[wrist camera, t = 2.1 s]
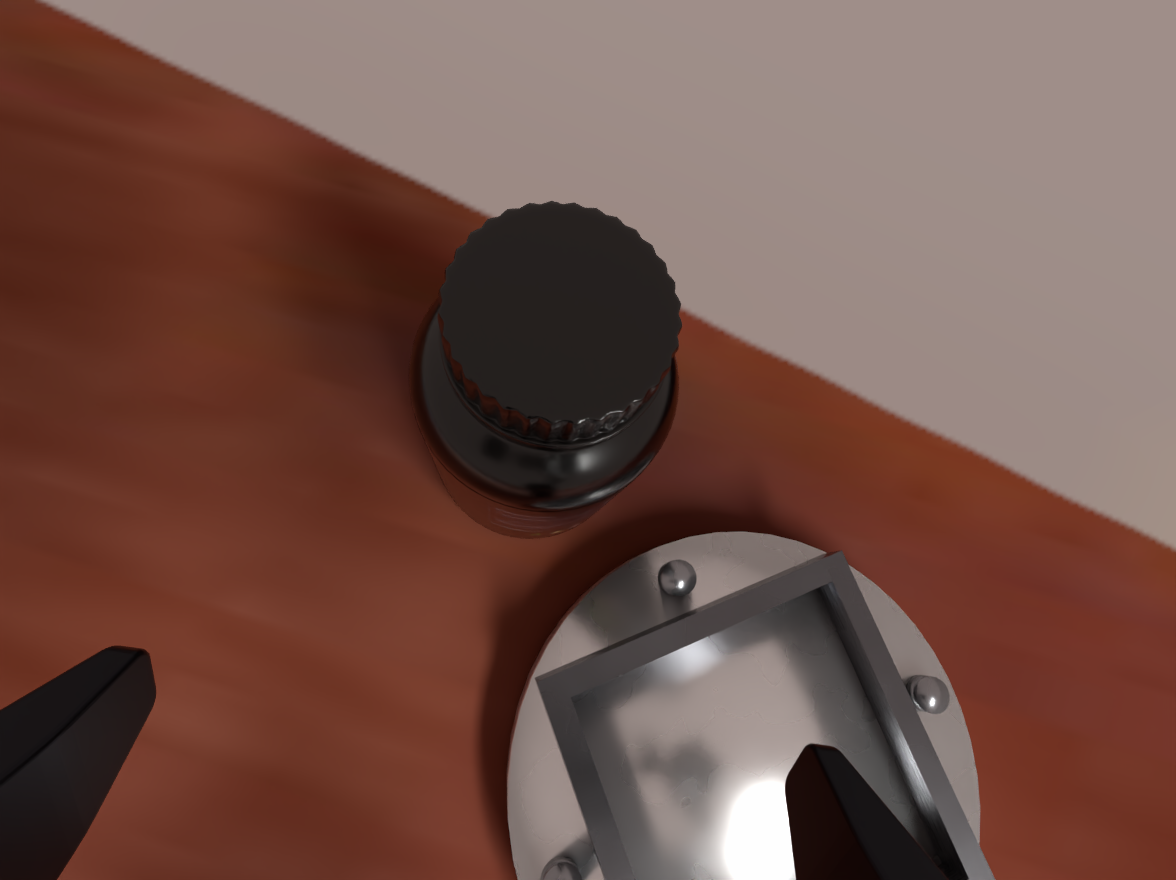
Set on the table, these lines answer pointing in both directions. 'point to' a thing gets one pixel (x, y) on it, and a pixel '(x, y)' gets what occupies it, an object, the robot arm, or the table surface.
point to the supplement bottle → (547, 367)
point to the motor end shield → (729, 717)
